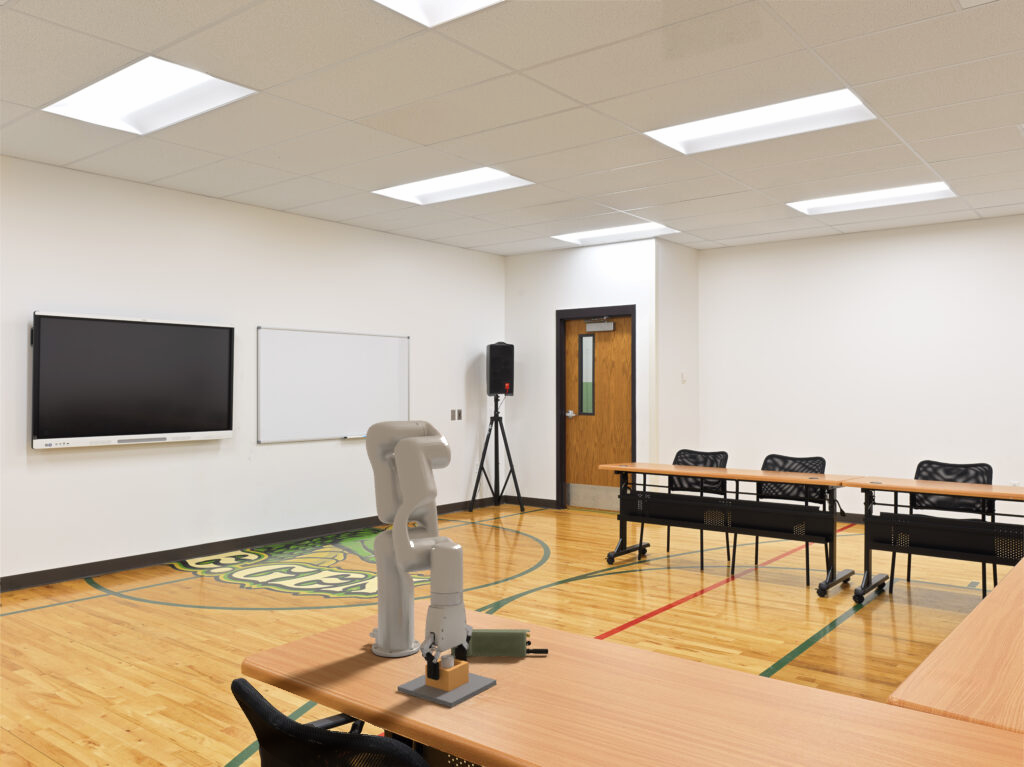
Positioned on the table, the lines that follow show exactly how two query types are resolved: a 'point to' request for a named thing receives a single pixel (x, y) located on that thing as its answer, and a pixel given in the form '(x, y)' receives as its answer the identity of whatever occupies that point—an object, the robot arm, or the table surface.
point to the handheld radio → (500, 643)
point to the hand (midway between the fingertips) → (447, 672)
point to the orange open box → (450, 676)
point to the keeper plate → (445, 697)
